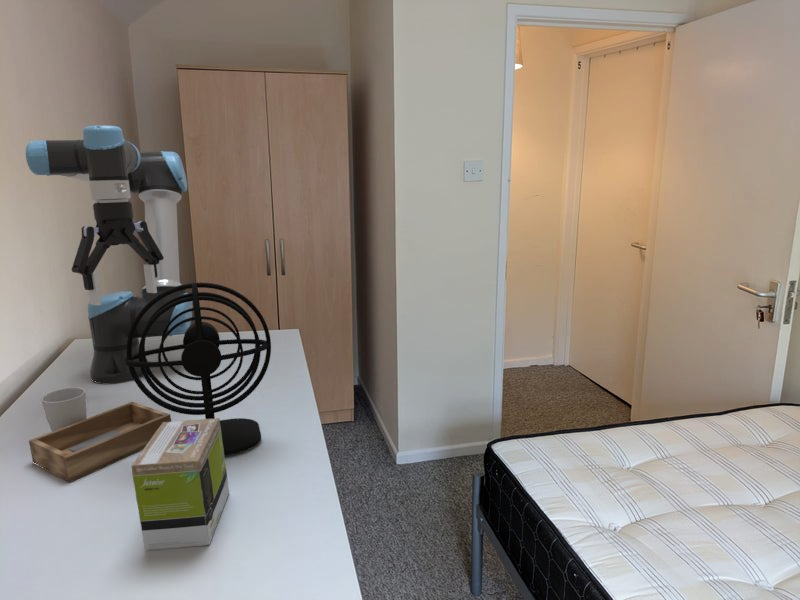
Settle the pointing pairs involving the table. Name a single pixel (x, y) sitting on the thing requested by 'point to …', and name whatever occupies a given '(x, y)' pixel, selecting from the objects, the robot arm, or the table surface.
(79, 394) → the cup
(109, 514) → the table surface
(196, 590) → the table surface
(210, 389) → the desk fan
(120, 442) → the wooden box
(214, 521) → the tea box
